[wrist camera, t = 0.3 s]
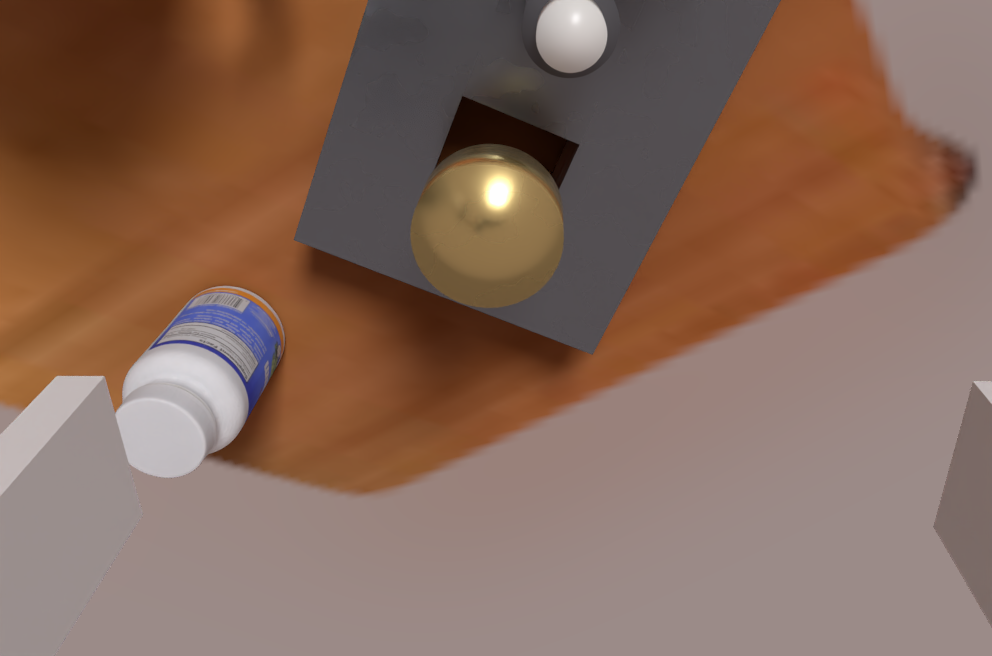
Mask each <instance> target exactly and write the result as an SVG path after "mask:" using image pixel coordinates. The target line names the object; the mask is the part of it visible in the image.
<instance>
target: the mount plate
mask: <svg viewBox="0 0 992 656" xmlns="http://www.w3.org/2000/svg"><path fill="white" fill-rule="evenodd" d="M614 1H615V4H616V6H617V9H618V12H619V17H620V33H619V38H618V42H617V44H616V47H615V49H614V51H613V53H612V54H611V56H610V57H609V59H608V60H607V61H606V62H605V63H604V64H603V65H602V66H601V67H600V68H598V69H597V70H595V71H594V72H592V73H590V74H588V75H585V76H582V77H577V78H561V77H557V76H554V75H551V74H549V73H547V72H545V71H544V70H542V69H541V68H539V67H538V66H537V65H536V64H535V63H534V62H533V60H532V59H531V58H530V56H529V55H528V53H527V51H526V49H525V46H524V43H523V39H522V31H521V26H522V18H523V13H524V8H525V3H526V0H368V3H367V6H366V9H365V13H364V16H363V19H362V22H361V25H360V29H359V32H358V35H357V38H356V41H355V45H354V48H353V51H352V54H351V58H350V61H349V64H348V67H347V70H346V74H345V77H344V80H343V83H342V86H341V90H340V93H339V96H338V99H337V103H336V106H335V109H334V112H333V115H332V119H331V122H330V125H329V128H328V132H327V135H326V138H325V141H324V144H323V148H322V151H321V154H320V157H319V160H318V164H317V167H316V170H315V173H314V177H313V180H312V183H311V186H310V189H309V193H308V196H307V199H306V202H305V205H304V209H303V212H302V215H301V218H300V222H299V225H298V228H297V231H296V234H295V238H294V240H295V241H298V242H300V243H303V244H306V245H308V246H311V247H313V248H316V249H319V250H321V251H324V252H326V253H329V254H332V255H334V256H337V257H340V258H342V259H345V260H347V261H350V262H353V263H355V264H358V265H360V266H363V267H366V268H368V269H371V270H373V271H376V272H379V273H381V274H384V275H386V276H389V277H392V278H394V279H397V280H399V281H402V282H405V283H407V284H410V285H412V286H415V287H418V288H420V289H423V290H425V291H428V292H431V293H433V294H436V295H439V296H441V297H444V298H446V299H449V300H452V301H454V302H457V301H455V300H453V299H451V298H449V297H448V296H446V295H444V294H443V293H441V292H440V291H439V290H437V289H436V288H435V287H434V286H433V285H432V284H431V283H430V282H429V281H428V280H427V278H426V277H425V276H424V275H423V273H422V272H421V270H420V268H419V266H418V265H417V262H416V260H415V258H414V254H413V251H412V246H411V239H410V233H411V223H412V218H413V214H414V211H415V209H416V206H417V204H418V201H419V199H420V196H421V194H422V191H423V189H424V186H425V184H426V182H427V180H428V178H429V176H430V175H431V173H432V172H433V171H434V169H435V167H436V164H437V162H438V159H439V156H440V154H441V151H442V148H443V146H444V143H445V141H446V138H447V135H448V133H449V130H450V127H451V125H452V122H453V120H454V117H455V114H456V112H457V109H458V106H459V104H460V101H461V99H462V96H464V97H467V98H469V99H471V100H474V101H476V102H479V103H481V104H483V105H486V106H488V107H491V108H493V109H495V110H498V111H500V112H503V113H505V114H507V115H510V116H512V117H515V118H517V119H519V120H522V121H524V122H527V123H529V124H531V125H534V126H536V127H539V128H541V129H543V130H546V131H548V132H551V133H553V134H555V135H558V136H560V137H563V138H565V139H567V142H566V144H565V147H564V149H563V151H562V153H561V156H560V158H559V160H558V162H557V164H556V167H555V169H554V171H553V173H552V175H551V176H552V178H553V179H554V181H555V183H556V185H557V187H558V189H559V192H560V195H561V200H562V205H563V229H564V243H563V251H562V255H561V259H560V262H559V264H558V267H557V269H556V270H555V272H554V274H553V275H552V277H551V278H550V279H549V281H548V282H547V283H546V284H545V285H544V286H543V287H542V288H541V289H540V290H539V291H537V292H536V293H535V294H534V295H532V296H530V297H529V298H527V299H525V300H523V301H521V302H518V303H516V304H512V305H509V306H504V307H498V308H482V307H474V306H469V305H466V304H463V303H460V302H457V303H459V304H462V305H465V306H467V307H470V308H472V309H475V310H478V311H480V312H483V313H485V314H488V315H491V316H493V317H496V318H498V319H501V320H504V321H506V322H509V323H511V324H514V325H517V326H519V327H522V328H524V329H527V330H530V331H532V332H535V333H538V334H540V335H543V336H545V337H548V338H551V339H553V340H556V341H558V342H561V343H564V344H566V345H569V346H571V347H574V348H577V349H579V350H582V351H584V352H587V353H590V354H592V355H593V353H594V351H595V349H596V347H597V345H598V343H599V341H600V340H601V338H602V336H603V334H604V332H605V330H606V328H607V326H608V324H609V323H610V321H611V319H612V317H613V315H614V313H615V311H616V309H617V308H618V306H619V304H620V302H621V300H622V298H623V296H624V294H625V292H626V291H627V289H628V287H629V285H630V283H631V281H632V279H633V277H634V276H635V274H636V272H637V270H638V268H639V266H640V264H641V262H642V260H643V259H644V257H645V255H646V253H647V251H648V249H649V247H650V245H651V244H652V242H653V240H654V238H655V236H656V234H657V232H658V230H659V228H660V227H661V225H662V223H663V221H664V219H665V217H666V215H667V213H668V212H669V210H670V208H671V206H672V204H673V202H674V200H675V198H676V197H677V195H678V193H679V191H680V189H681V187H682V185H683V183H684V181H685V180H686V178H687V176H688V174H689V172H690V170H691V168H692V166H693V165H694V163H695V161H696V159H697V157H698V155H699V153H700V151H701V149H702V148H703V146H704V144H705V142H706V140H707V138H708V136H709V134H710V133H711V131H712V129H713V127H714V125H715V123H716V121H717V119H718V117H719V116H720V114H721V112H722V110H723V108H724V106H725V104H726V102H727V101H728V99H729V97H730V95H731V93H732V91H733V89H734V87H735V85H736V84H737V82H738V80H739V78H740V76H741V74H742V72H743V70H744V69H745V67H746V65H747V63H748V61H749V59H750V57H751V55H752V53H753V52H754V50H755V48H756V46H757V44H758V42H759V40H760V38H761V37H762V35H763V33H764V31H765V29H766V27H767V25H768V23H769V21H770V20H771V18H772V16H773V14H774V12H775V10H776V8H777V6H778V5H779V3H780V1H781V0H614Z"/></svg>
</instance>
